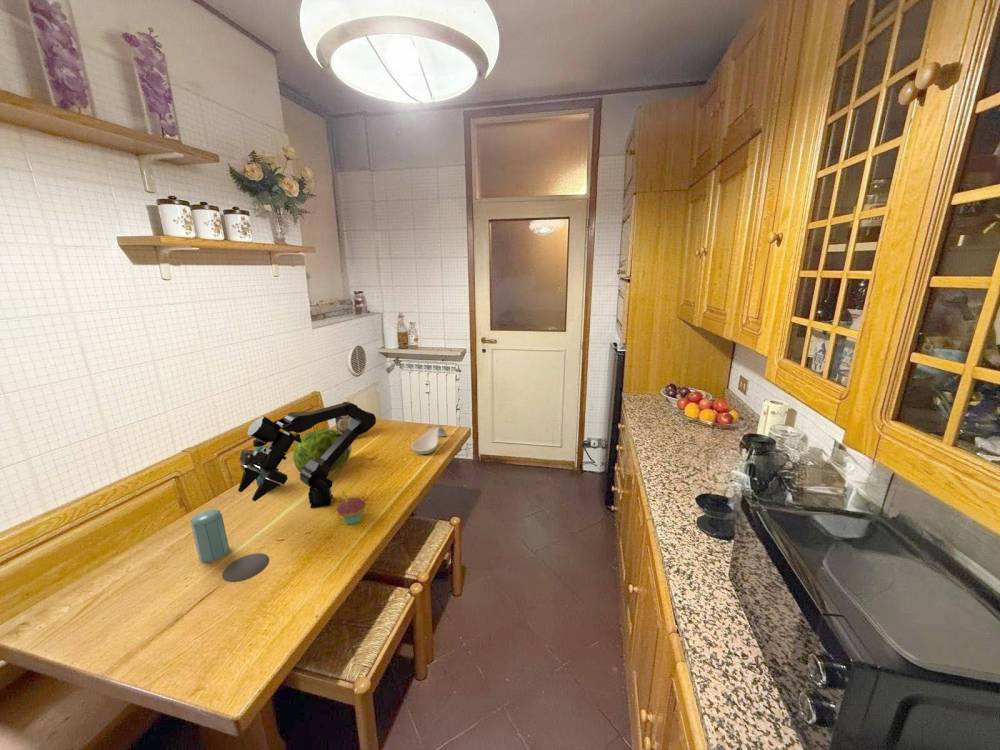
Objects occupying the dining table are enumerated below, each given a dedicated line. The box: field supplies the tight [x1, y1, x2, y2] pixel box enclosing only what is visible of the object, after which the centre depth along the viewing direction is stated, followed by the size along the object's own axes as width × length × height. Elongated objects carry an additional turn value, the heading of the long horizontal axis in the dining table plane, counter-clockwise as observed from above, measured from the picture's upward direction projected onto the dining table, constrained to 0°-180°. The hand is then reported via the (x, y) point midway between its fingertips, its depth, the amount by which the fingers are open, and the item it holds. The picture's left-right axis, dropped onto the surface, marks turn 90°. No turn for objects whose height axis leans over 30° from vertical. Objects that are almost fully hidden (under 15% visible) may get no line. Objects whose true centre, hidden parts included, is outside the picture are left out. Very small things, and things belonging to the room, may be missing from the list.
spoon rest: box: [411, 426, 447, 455], centre depth 184 cm, size 24×12×7 cm, turn 163°
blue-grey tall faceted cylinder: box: [190, 509, 230, 563], centre depth 113 cm, size 7×7×13 cm
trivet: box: [221, 552, 270, 583], centre depth 109 cm, size 11×11×1 cm
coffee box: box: [334, 404, 358, 434], centre depth 196 cm, size 9×6×16 cm
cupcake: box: [336, 488, 367, 525], centre depth 129 cm, size 9×8×12 cm
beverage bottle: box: [252, 438, 268, 488], centre depth 149 cm, size 6×7×20 cm
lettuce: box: [292, 428, 352, 473], centre depth 164 cm, size 18×23×19 cm
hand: (246, 496), depth 120 cm, fingers open, 9 cm apart
